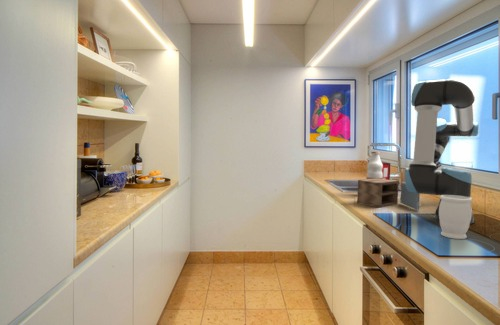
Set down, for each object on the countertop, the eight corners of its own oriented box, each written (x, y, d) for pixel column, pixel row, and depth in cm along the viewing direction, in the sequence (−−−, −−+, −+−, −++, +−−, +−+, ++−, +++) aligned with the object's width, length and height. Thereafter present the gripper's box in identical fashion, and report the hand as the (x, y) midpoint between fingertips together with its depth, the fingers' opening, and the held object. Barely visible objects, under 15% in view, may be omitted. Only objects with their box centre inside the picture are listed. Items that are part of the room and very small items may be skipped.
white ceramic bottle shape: (365, 196, 208) (367, 151, 206) (366, 194, 216) (368, 151, 214) (381, 198, 204) (383, 152, 202) (382, 195, 213) (384, 151, 210)
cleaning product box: (367, 189, 238) (368, 161, 237) (379, 189, 238) (381, 161, 237) (375, 193, 222) (376, 163, 220) (388, 193, 222) (390, 163, 220)
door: (404, 202, 186) (405, 182, 185) (421, 209, 169) (423, 187, 168) (399, 202, 186) (400, 182, 185) (416, 209, 168) (417, 186, 168)
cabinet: (397, 204, 186) (398, 180, 185) (380, 207, 176) (381, 183, 175) (374, 200, 197) (375, 178, 196) (357, 203, 187) (358, 180, 186)
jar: (458, 232, 132) (460, 194, 130) (476, 240, 121) (479, 199, 120) (431, 232, 131) (433, 194, 130) (448, 240, 121) (450, 199, 120)
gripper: (448, 158, 190) (432, 190, 181) (424, 157, 200) (408, 187, 192) (444, 149, 186) (427, 181, 178) (420, 148, 197) (404, 178, 188)
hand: (418, 184), depth 185 cm, fingers closed
